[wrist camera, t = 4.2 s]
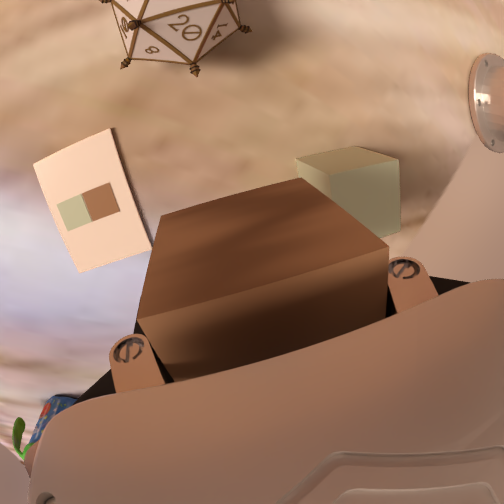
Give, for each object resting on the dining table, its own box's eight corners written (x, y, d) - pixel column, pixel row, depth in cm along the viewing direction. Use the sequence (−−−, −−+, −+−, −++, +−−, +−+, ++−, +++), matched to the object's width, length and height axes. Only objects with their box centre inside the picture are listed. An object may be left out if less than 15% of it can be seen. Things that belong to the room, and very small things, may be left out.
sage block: (354, 145, 23) (398, 159, 18) (360, 205, 26) (400, 231, 21) (295, 158, 23) (328, 175, 18) (305, 221, 25) (337, 252, 20)
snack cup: (127, 398, 31) (124, 472, 22) (128, 437, 35) (128, 497, 26) (13, 372, 26) (-9, 436, 17) (31, 416, 30) (19, 471, 21)
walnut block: (301, 177, 11) (389, 246, 6) (317, 290, 14) (375, 388, 9) (161, 215, 11) (136, 319, 6) (203, 323, 14) (215, 438, 8)
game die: (202, 34, 20) (306, 32, 15) (128, 99, 19) (218, 113, 13) (152, -46, 12) (256, -88, 7) (57, 16, 11) (119, -37, 6)
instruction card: (110, 128, 19) (109, 128, 18) (152, 247, 23) (151, 249, 23) (34, 163, 18) (32, 164, 18) (80, 271, 23) (79, 273, 23)
